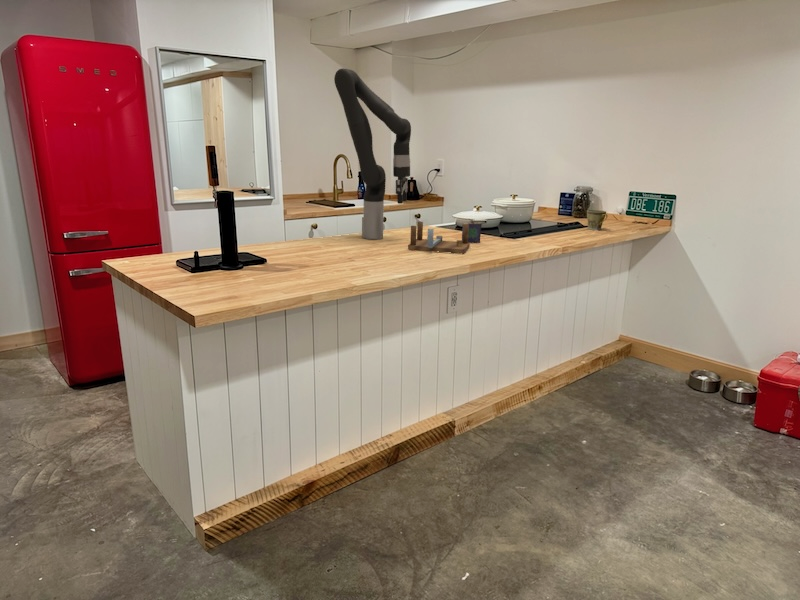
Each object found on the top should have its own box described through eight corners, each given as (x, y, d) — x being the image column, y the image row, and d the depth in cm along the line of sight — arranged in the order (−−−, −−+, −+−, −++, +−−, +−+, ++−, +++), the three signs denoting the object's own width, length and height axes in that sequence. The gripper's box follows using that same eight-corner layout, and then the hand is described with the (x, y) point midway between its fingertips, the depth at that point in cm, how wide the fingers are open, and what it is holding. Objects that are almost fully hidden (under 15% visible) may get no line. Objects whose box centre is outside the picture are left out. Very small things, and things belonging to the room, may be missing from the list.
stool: (407, 249, 238) (408, 226, 235) (416, 243, 253) (417, 221, 250) (464, 254, 232) (465, 230, 229) (469, 247, 247) (470, 224, 244)
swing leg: (437, 240, 248) (437, 222, 246) (442, 240, 248) (443, 223, 245) (426, 247, 231) (426, 229, 229) (432, 248, 231) (433, 229, 229)
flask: (462, 243, 255) (464, 220, 252) (460, 242, 257) (461, 219, 254) (481, 242, 258) (482, 219, 255) (478, 241, 260) (479, 218, 257)
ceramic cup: (580, 228, 305) (582, 210, 302) (594, 227, 309) (596, 209, 306) (597, 232, 293) (600, 213, 290) (612, 231, 297) (614, 212, 295)
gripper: (397, 164, 257) (397, 200, 261) (389, 166, 243) (390, 204, 248) (413, 164, 255) (413, 200, 260) (406, 166, 242) (406, 204, 246)
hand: (402, 202), depth 254 cm, fingers open, 8 cm apart
